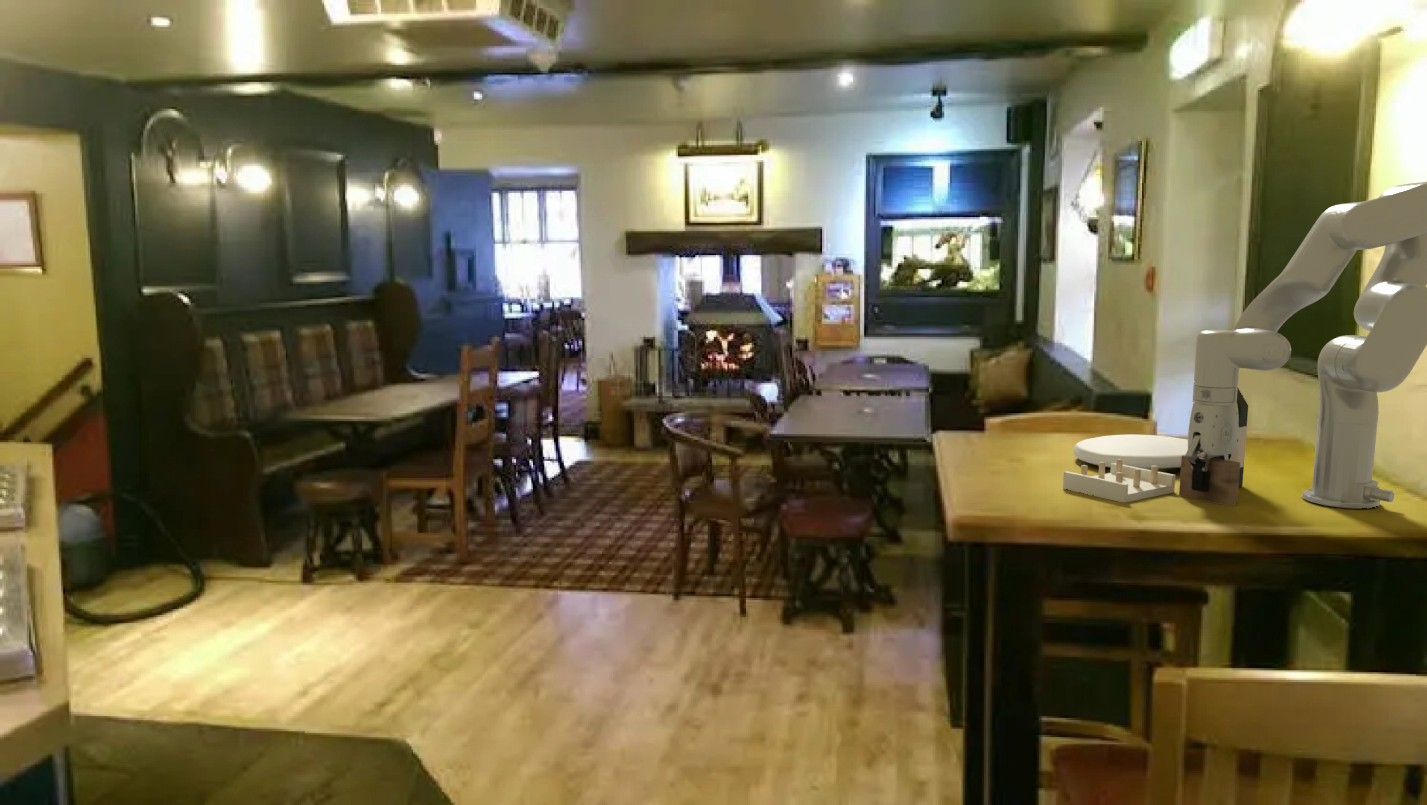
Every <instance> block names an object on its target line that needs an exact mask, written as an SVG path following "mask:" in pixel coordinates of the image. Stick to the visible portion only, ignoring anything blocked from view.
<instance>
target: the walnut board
mask: <svg viewBox="0 0 1427 805" xmlns="http://www.w3.org/2000/svg"><path fill="white" fill-rule="evenodd" d="M1199 458H1200V459H1201V460H1202V462H1203V461H1204V458H1201V457H1199ZM1192 471H1193V470H1192V469H1191V464H1190V461H1189V460H1188V459H1187V457H1186V455H1182V458H1181V467H1180V477H1179V488H1178V489H1179V491H1178V492H1179V493H1178V495H1179V496H1181V497H1185V498H1189V499H1190V498H1191V499H1196V500H1200V501H1204V502H1209V503H1214V504H1218V505H1224V506H1228V507H1230V506H1233V505H1237V504H1238V499H1239V498H1238V497H1239V474H1240V462H1235V461H1229V460H1223V459H1217V458H1212V457H1211V458H1210V462H1209V467H1208V471H1209V472H1210V479H1209V491H1208V492H1201V491H1196V490H1192V488H1191V486H1192Z"/></svg>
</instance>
